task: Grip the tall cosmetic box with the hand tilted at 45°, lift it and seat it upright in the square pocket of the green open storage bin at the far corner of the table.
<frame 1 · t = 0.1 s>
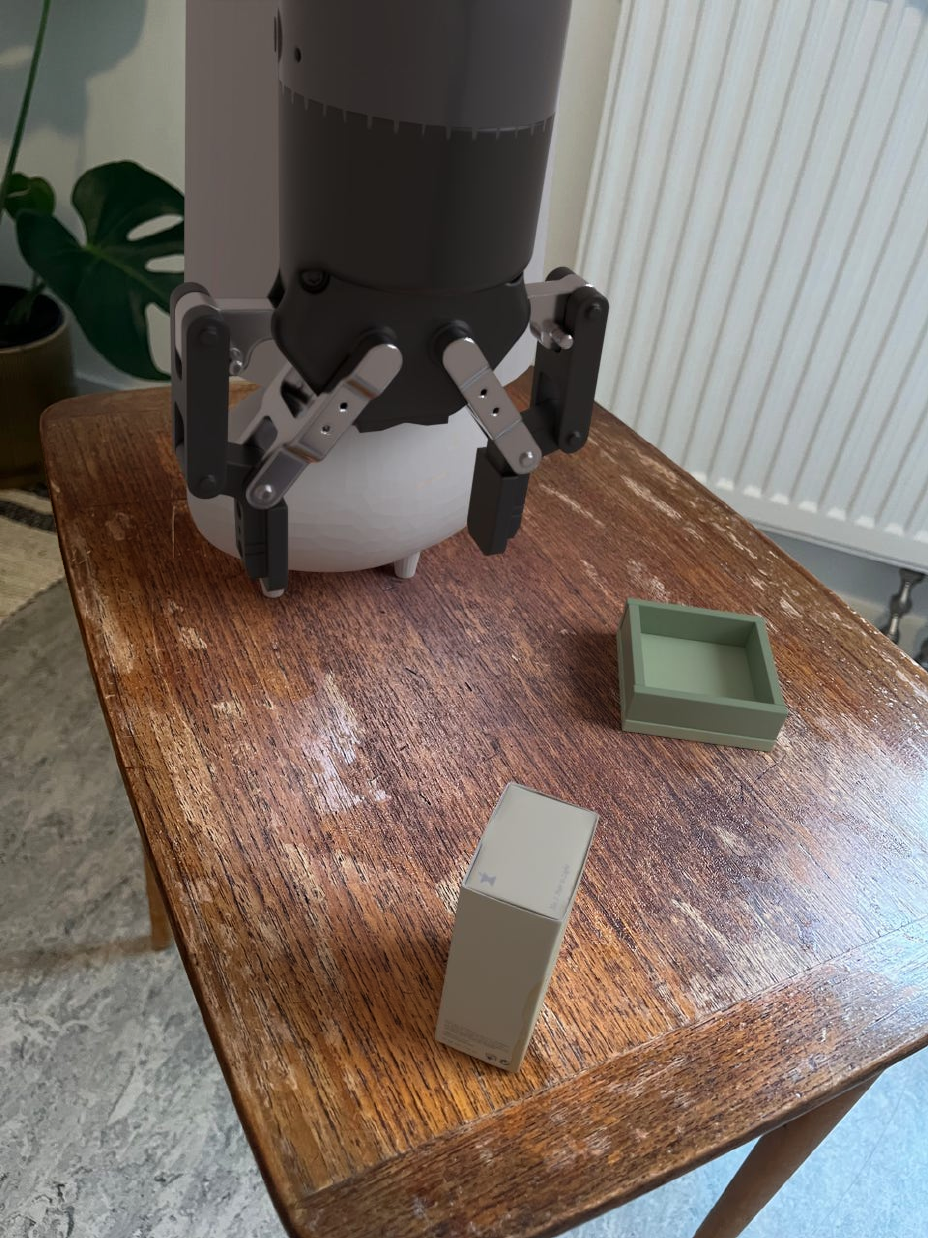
hand: (382, 559, 36), 22 cm above the table, tool pointing down, fingers open, 8 cm apart
green open storage bin: (689, 689, 66), on the table
cosmetic box: (494, 1002, 47), on the table
table lamp: (345, 571, 72), on the table
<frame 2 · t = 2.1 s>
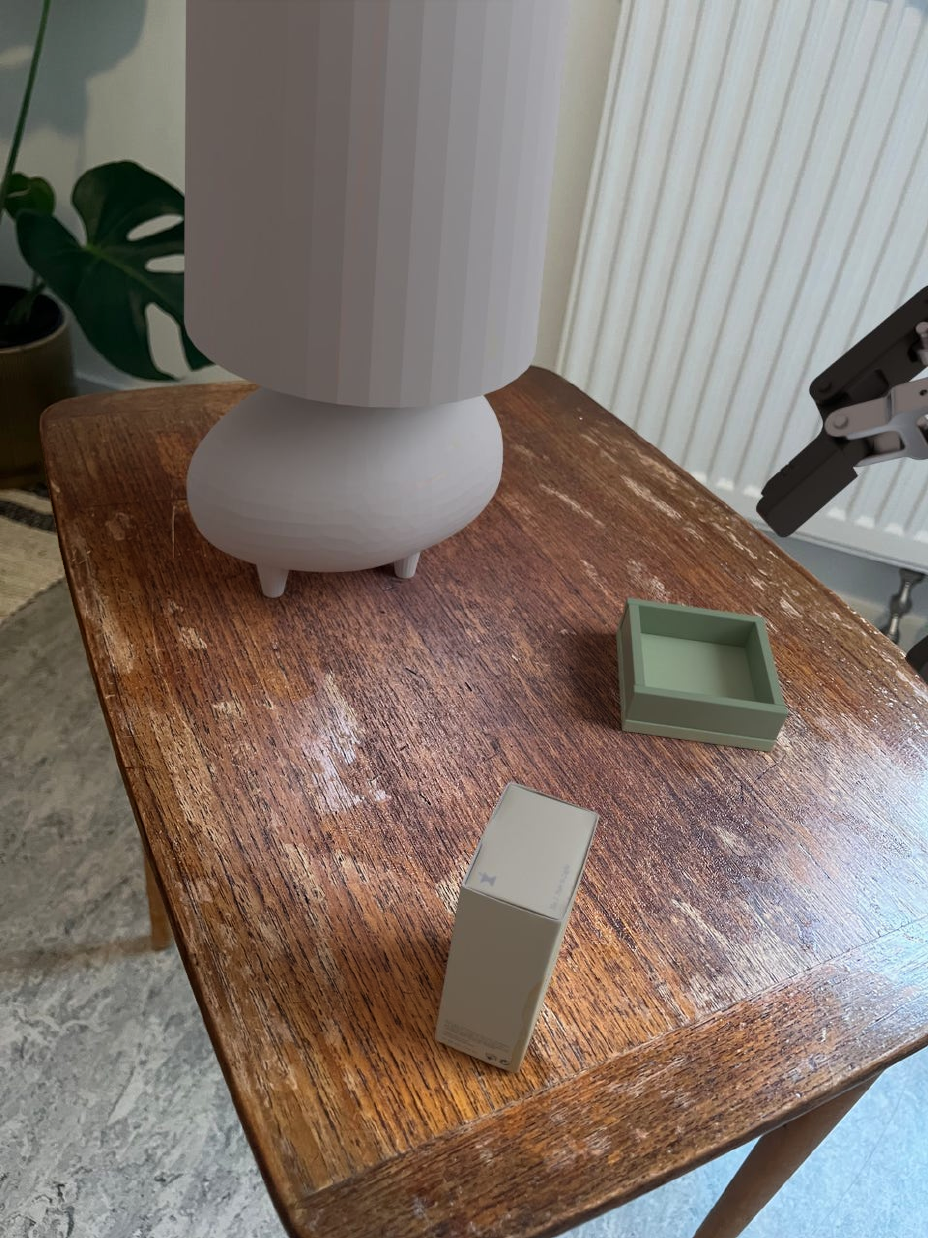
hand: (837, 593, 35), 24 cm above the table, tool tilted 40°, fingers open, 8 cm apart
nothing on the table moved.
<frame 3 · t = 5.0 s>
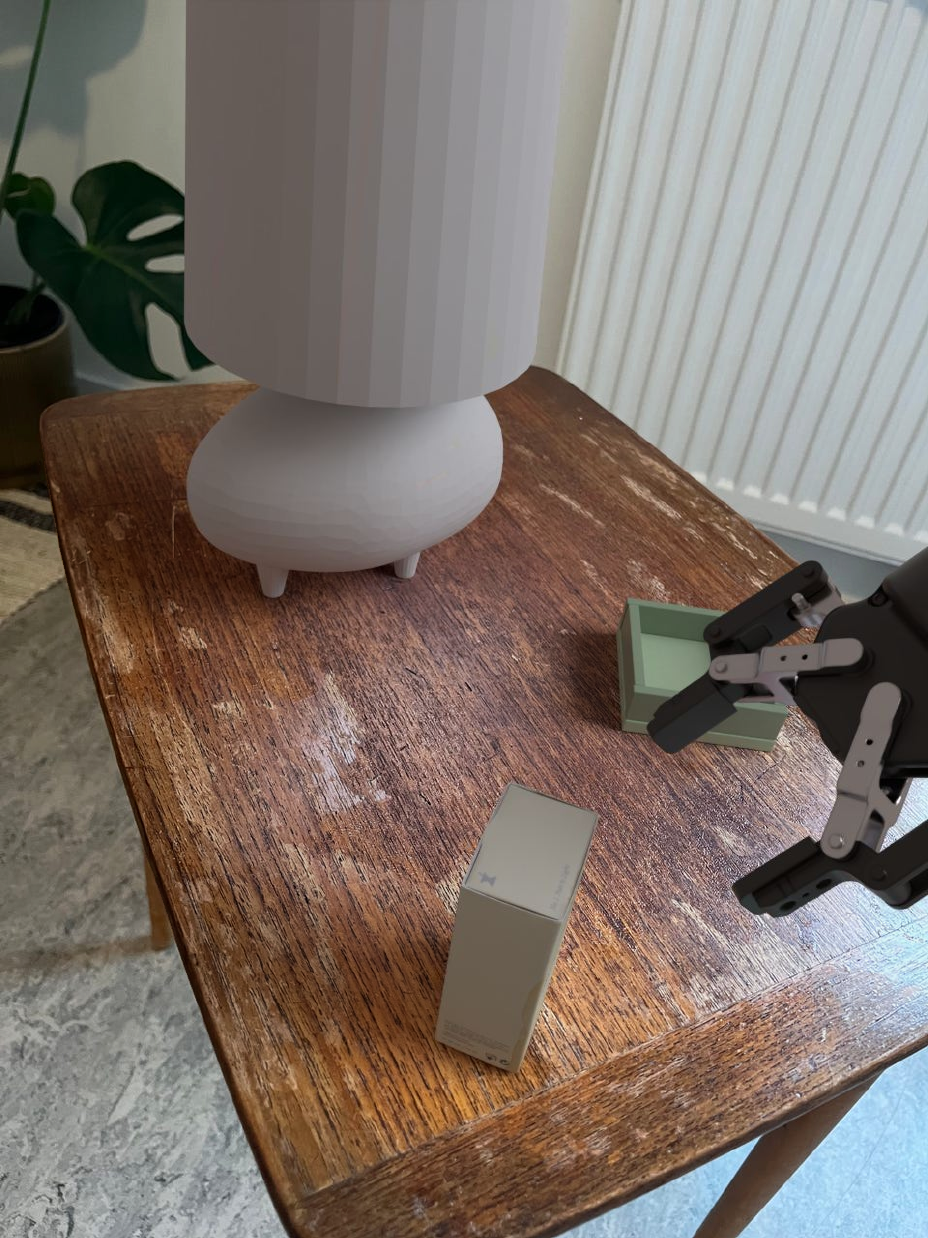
hand: (697, 816, 41), 13 cm above the table, tool tilted 45°, fingers open, 8 cm apart
nothing on the table moved.
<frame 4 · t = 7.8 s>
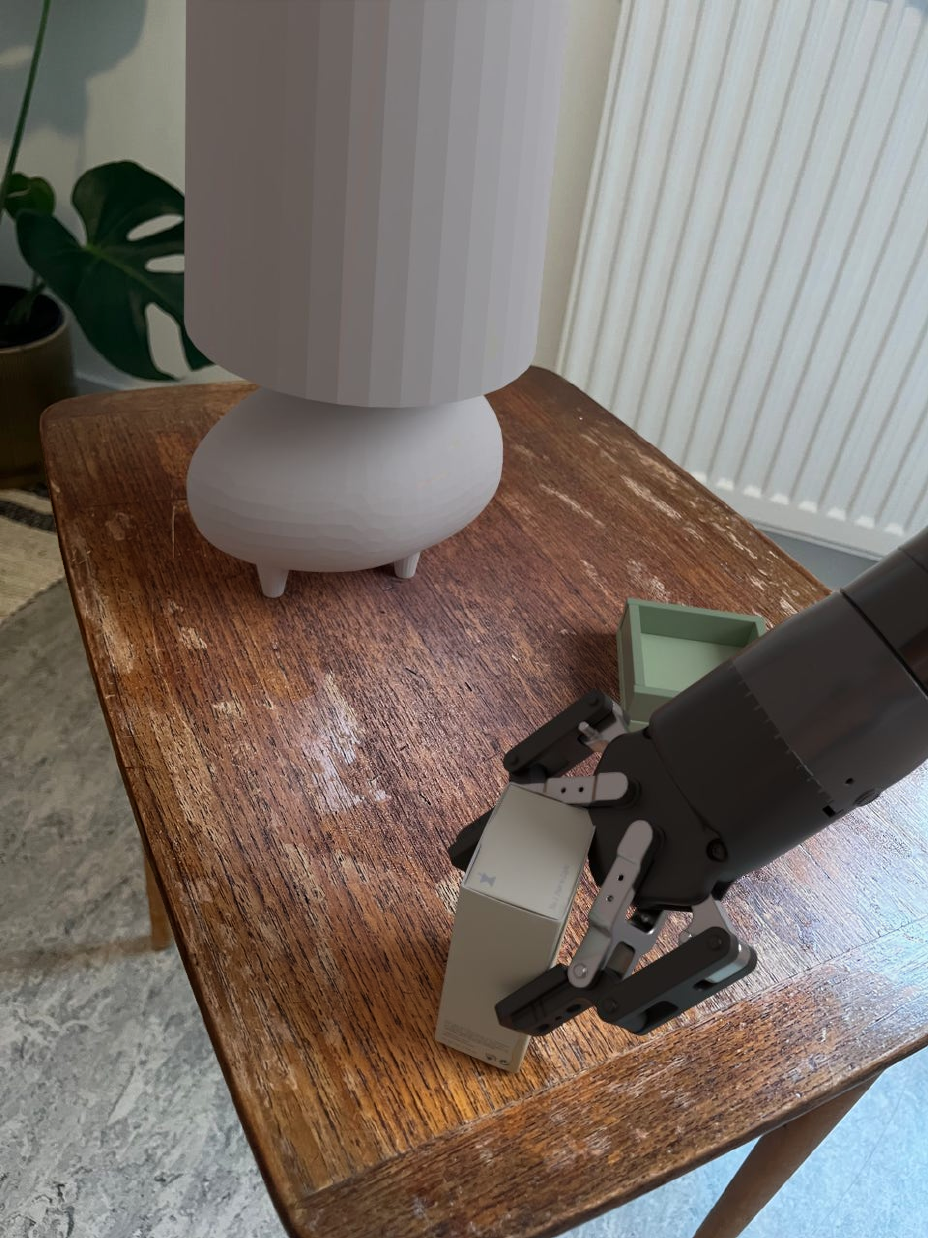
hand: (482, 937, 43), 6 cm above the table, tool tilted 45°, fingers closed on cosmetic box, 7 cm apart
cosmetic box: (494, 1003, 47), on the table, touching gripper
everything else where it was.
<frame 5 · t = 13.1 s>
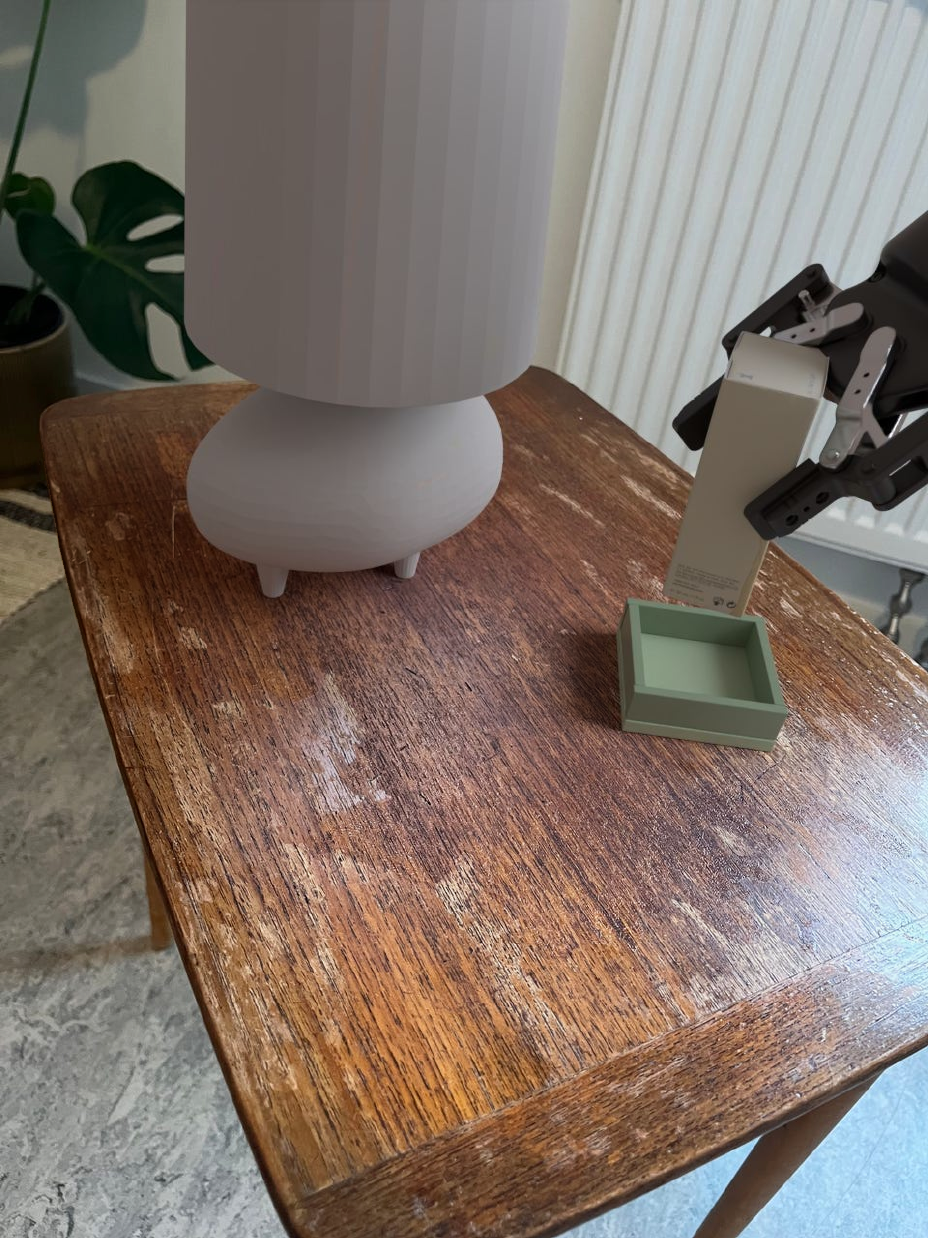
hand: (715, 480, 47), 21 cm above the table, tool tilted 45°, fingers closed on cosmetic box, 7 cm apart
cosmetic box: (707, 578, 51), point 14 cm above the table, touching gripper
everything else where it was.
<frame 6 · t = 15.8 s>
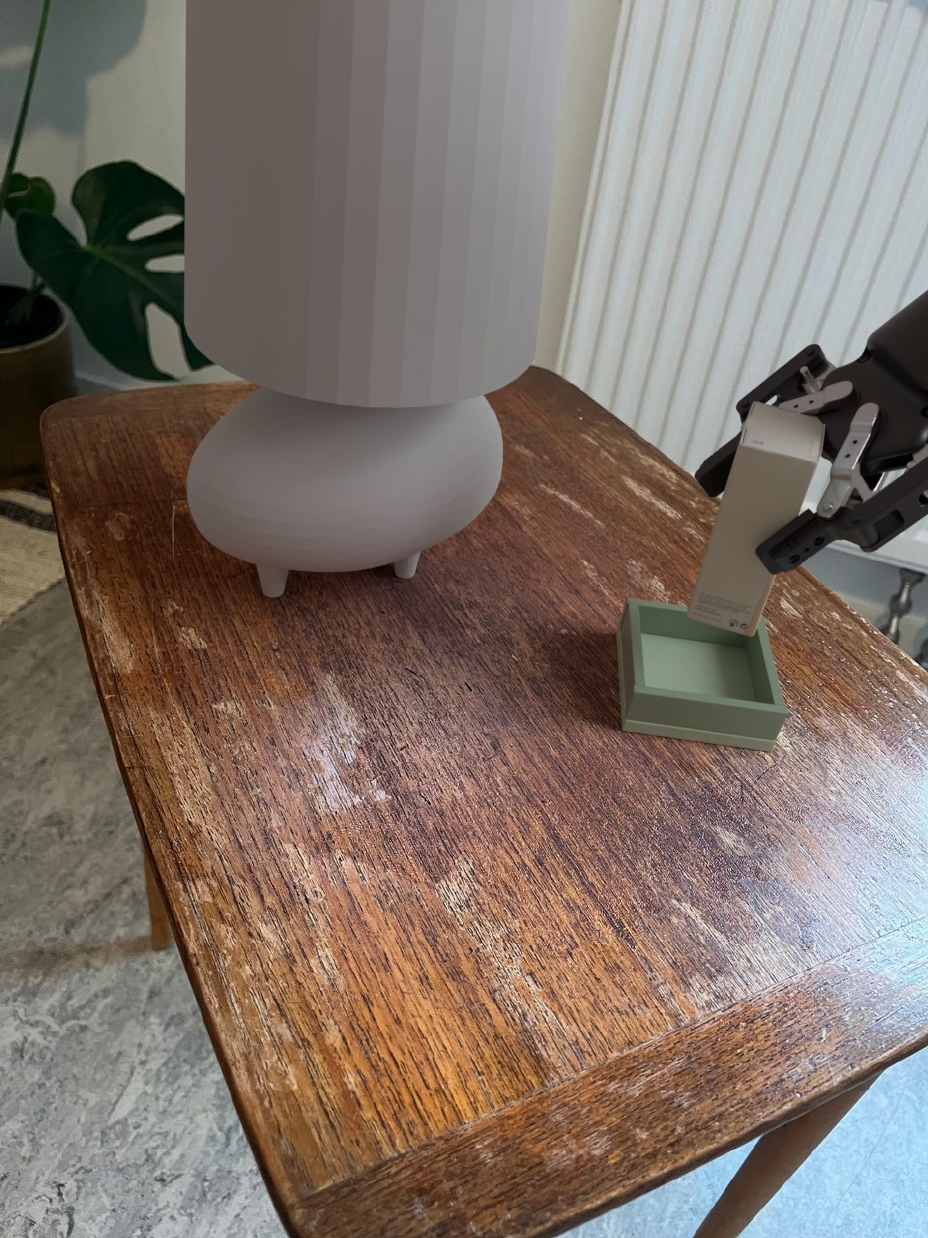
hand: (731, 523, 57), 14 cm above the table, tool tilted 45°, fingers closed on cosmetic box, 7 cm apart
cosmetic box: (723, 603, 61), point 8 cm above the table, touching gripper
everything else where it was.
when the fingers open (7 cm above the table, at t = 18.4 s): cosmetic box stays where it is, resting on green open storage bin.
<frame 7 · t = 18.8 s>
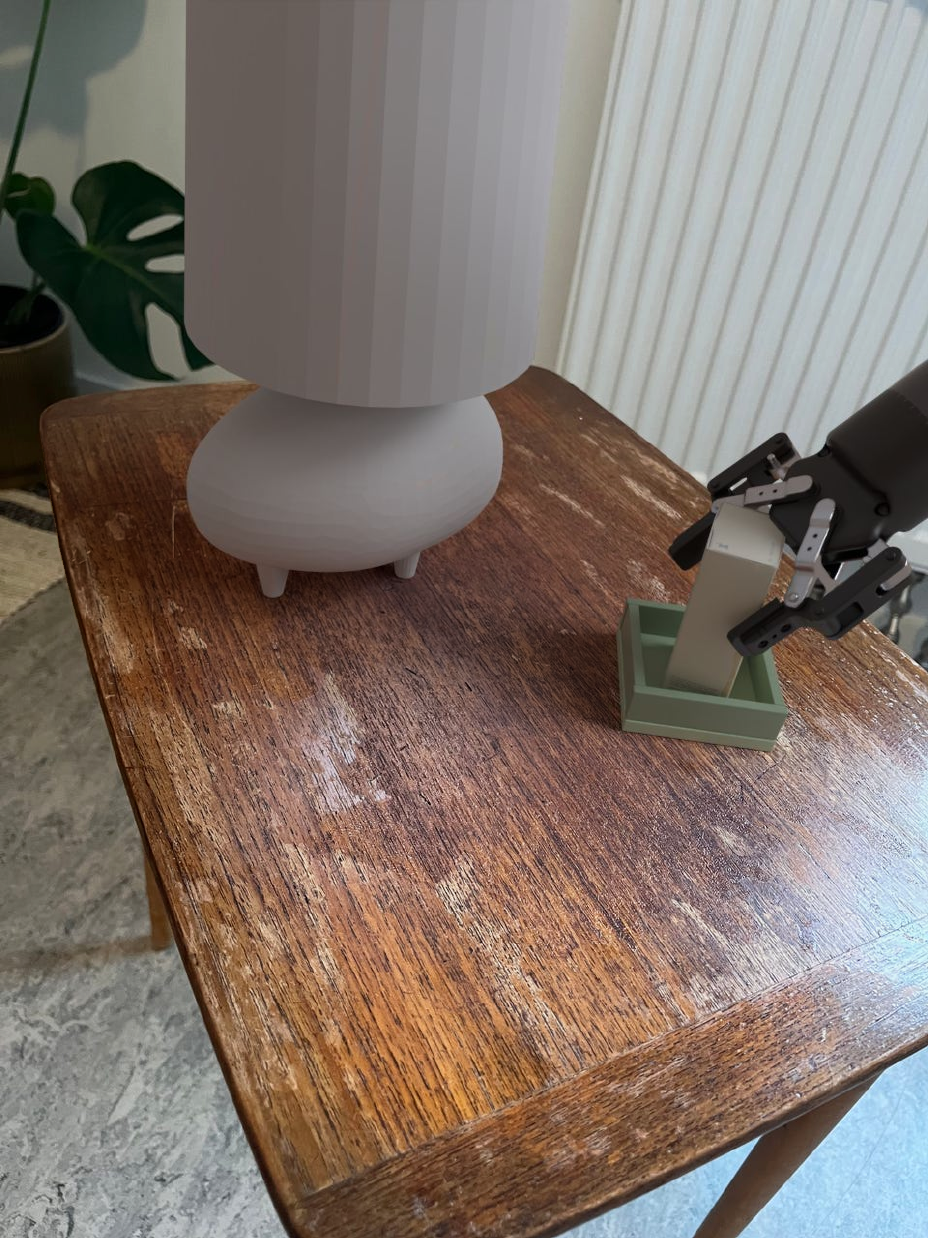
hand: (703, 602, 61), 8 cm above the table, tool tilted 45°, fingers open, 8 cm apart
cosmetic box: (694, 681, 65), point 1 cm above the table, touching green open storage bin
everything else where it was.
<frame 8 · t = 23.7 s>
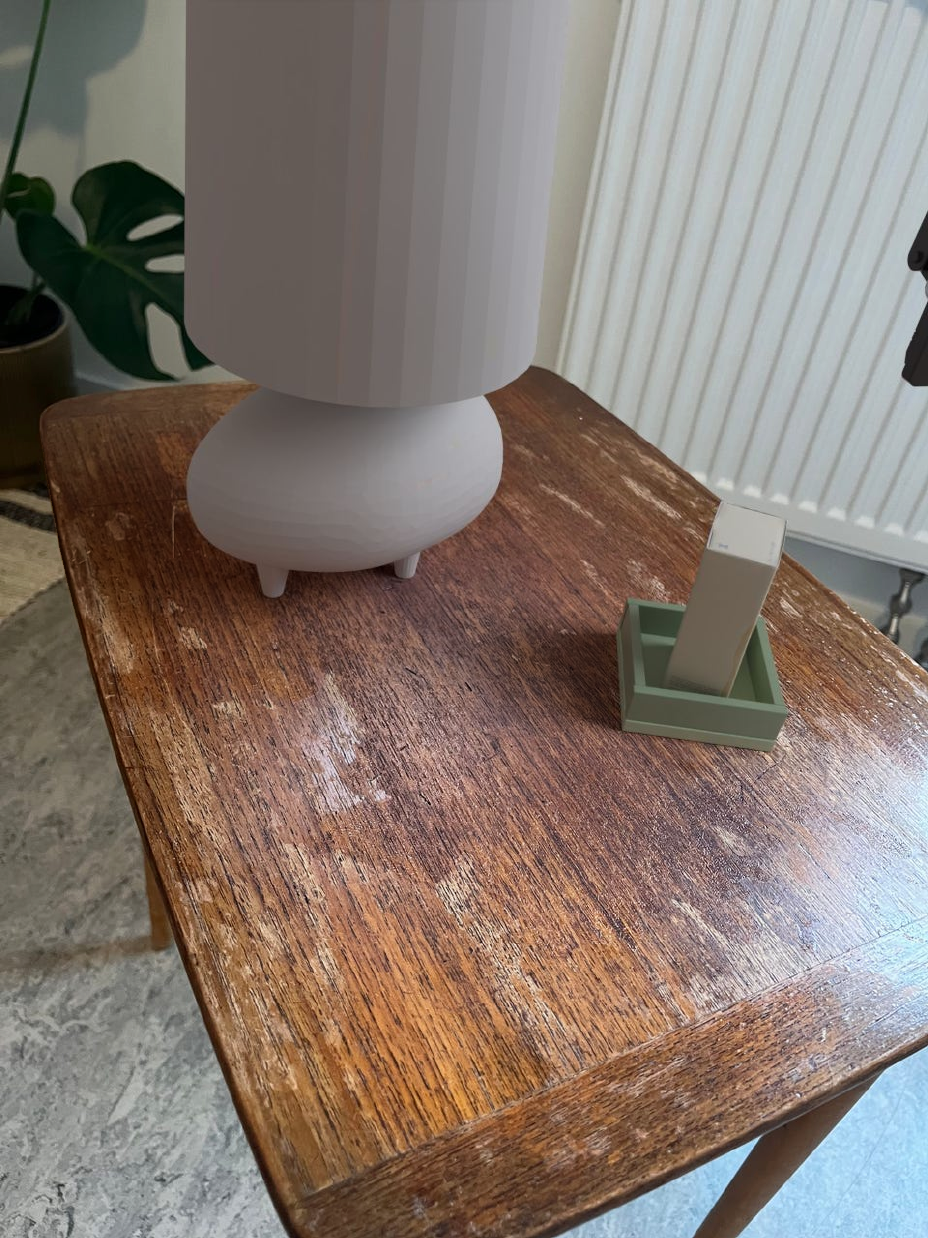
nothing on the table moved.
at the end: cosmetic box 0.1 cm off-centre on the green open storage bin, point 0.8 cm above the green open storage bin's base; cosmetic box tilted 0°; the gripper is holding nothing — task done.
